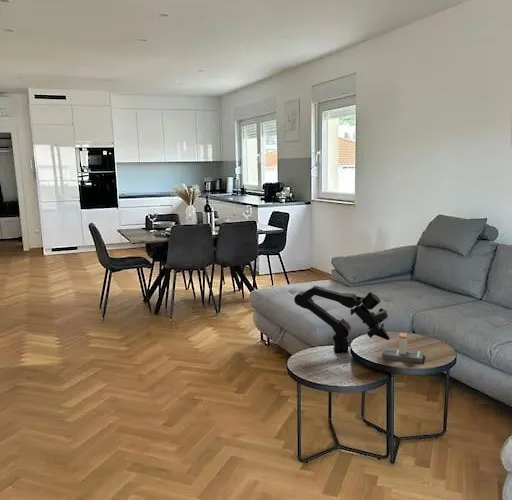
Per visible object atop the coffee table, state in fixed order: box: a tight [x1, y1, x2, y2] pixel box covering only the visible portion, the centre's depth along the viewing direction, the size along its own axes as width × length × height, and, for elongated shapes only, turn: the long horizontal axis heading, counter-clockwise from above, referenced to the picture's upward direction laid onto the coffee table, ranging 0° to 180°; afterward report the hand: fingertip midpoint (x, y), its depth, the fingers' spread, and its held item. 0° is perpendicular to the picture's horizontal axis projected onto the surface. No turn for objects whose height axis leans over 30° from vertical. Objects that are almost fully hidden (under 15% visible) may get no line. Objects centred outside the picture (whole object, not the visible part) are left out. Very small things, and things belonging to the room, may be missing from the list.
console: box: [381, 347, 425, 364], centre depth 236 cm, size 18×10×2 cm, turn 68°
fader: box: [398, 332, 408, 354], centre depth 235 cm, size 3×5×9 cm, turn 158°
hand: (389, 339), depth 237 cm, fingers closed
